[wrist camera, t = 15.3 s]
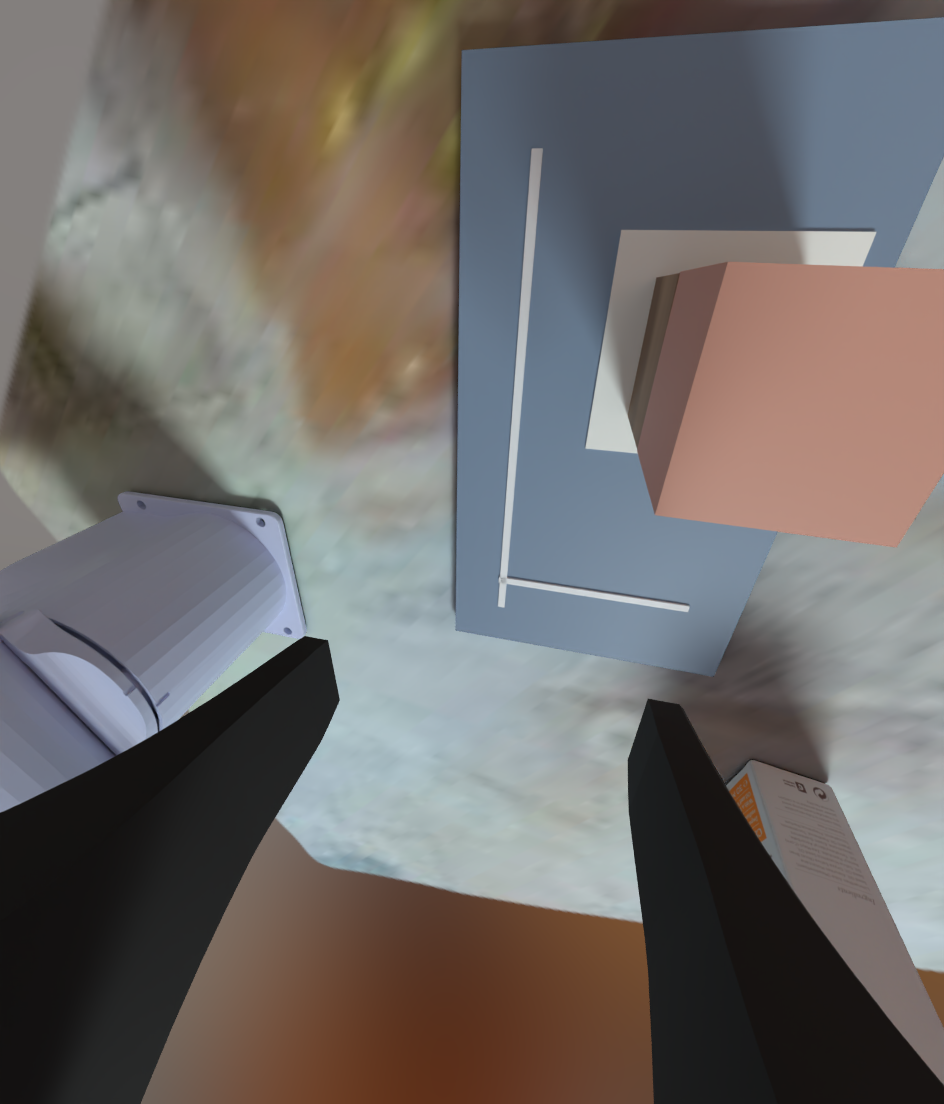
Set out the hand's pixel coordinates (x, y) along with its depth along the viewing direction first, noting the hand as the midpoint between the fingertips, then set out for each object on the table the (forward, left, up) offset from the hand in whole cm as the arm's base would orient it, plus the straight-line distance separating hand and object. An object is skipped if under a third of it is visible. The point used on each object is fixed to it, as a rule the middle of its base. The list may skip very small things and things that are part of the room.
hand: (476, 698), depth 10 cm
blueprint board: (+3, +3, -10) cm, 11 cm away
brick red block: (+5, +6, -5) cm, 10 cm away
